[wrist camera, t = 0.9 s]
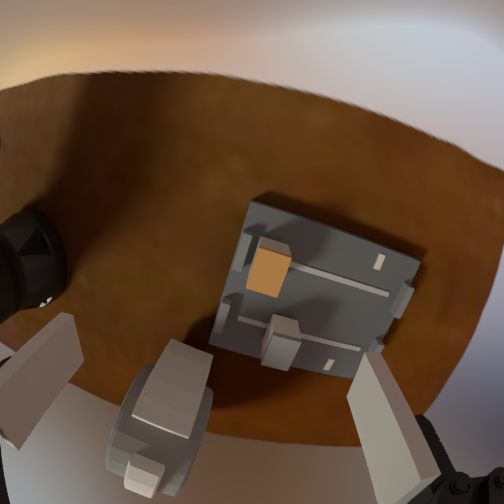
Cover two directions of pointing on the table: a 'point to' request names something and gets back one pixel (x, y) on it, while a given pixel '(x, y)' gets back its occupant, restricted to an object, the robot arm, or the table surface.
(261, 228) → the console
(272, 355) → the fader
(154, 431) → the alarm clock
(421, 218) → the table surface
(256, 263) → the fader
